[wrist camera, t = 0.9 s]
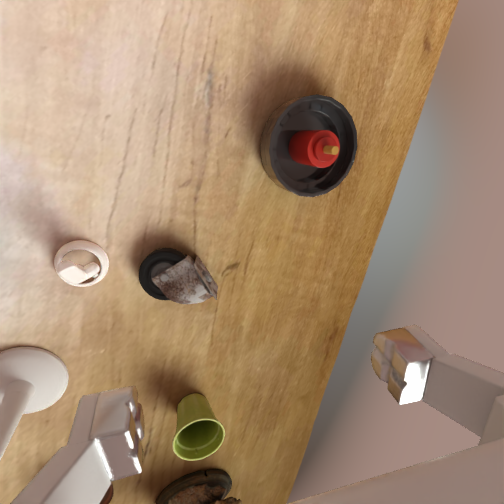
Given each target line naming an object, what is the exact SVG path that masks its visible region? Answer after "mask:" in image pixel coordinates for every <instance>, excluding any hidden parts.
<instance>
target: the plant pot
mask: <svg viewBox="0 0 504 504" xmlns="http://www.w3.org/2000/svg"><path fill="white" fill-rule="evenodd" d="M224 438H225V430H224V427H223V425H222V424H221V423H220V422H219V421H218V420H217V419H216V417H215V415H214V413H213V411H212V409H211V407H210V405H209V403H208V401H207V399H206V397H205V396H202V395H200V394H197V393H195V394H190V395H187V396H185V397H184V398H183V399H182V400H181V402H180V403H179V404H178V407H177V429H176V433H175V436H174V439H173V450H174V453H175V454H176V455H177V456H178V457H179V458H181V459H184V460H189V461H194V460H200V459H203V458H206V457H208V456H210V455H211V454H213V453H214V452H215V451H216V450H217V449H218V448H219V447H220V446H221V444H222V443H223V440H224Z"/></svg>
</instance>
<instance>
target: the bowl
mask: <svg viewBox="0 0 504 504" xmlns="http://www.w3.org/2000/svg"><path fill="white" fill-rule="evenodd" d="M301 130H329V131H331V132H333V133H334V134H335V135H336V136H337V138H338V140H339V144H340V150H339V154H338V157H337V159H336V160H335V161H334V163H332V164H331V165H330V166H328V167H325V168H319V167H314V166H309V165H304V164H300V163H297V162H295V161H294V160H293V159H292V158H291V156H290V154H289V142H290V140H291V138H292V136H293V135H294V134H295V133H297V132H298V131H301ZM356 150H357V131H356V128H355V125H354V122H353V119H352V116H351V115H350V114H349V112H348V111H347V110H346V108H345V107H344V106H343V105H342V104H341V103H339V102H338V101H336V100H335V99H333V98H332V97H328V96H323V95H318V94H316V95H311V96H306V97H300V98H295V99H291V100H289V101H288V102H286V103H284V104H283V105H281V106H279V107H278V108H277V109H276V111H275V112H274V113H273V114H272V115H271V116H270V118H269V119H268V121H267V123H266V126H265V128H264V130H263V132H262V138H261V145H260V151H261V158H262V164H263V166H264V168H265V170H266V172H267V174H268V176H269V178H270V179H271V180H272V181H273V182H274V183H275V184H276V185H277V186H278V187H280V188H283V189H285V190H287V191H289V192H291V193H294V194H296V195H299V196H306V197H315V196H319V195H323V194H326V193H328V192H329V191H331V190H332V189H334V188H336V187H337V186H338V185H339V184H340V183H341V182H342V181H343V179H344V178H345V177H346V176H347V175H348V173H349V171H350V169H351V167H352V165H353V163H354V160H355V155H356Z"/></svg>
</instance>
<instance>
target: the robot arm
mask: <svg viewBox="0 0 504 504" xmlns="http://www.w3.org/2000/svg"><path fill="white" fill-rule="evenodd" d="M373 343H374V344H375V345H376V348H375V349H374V350H373V351H372V354H371V361H372V366H373V369H374V371H375V373H376V375H377V376H378V377H379V379H381V380H383V381H384V382H387V383H388V390H389V392H390V393H391V394H392V396H393V397H394V398H395V399H396V401H397V402H398V403H399V405H401V404H406V403H410V402H414V401H419V400H423V401H424V402H425V403H427V404H429V405H430V406H431V407H433V408H435V409H436V410H438V411H440V412H441V413H443V414H444V415H446V416H448V417H449V418H451V419H452V420H454V421H456V422H457V423H459V424H460V425H462V426H464V427H465V428H467V429H468V430H470V431H472V432H473V433H475V434H476V435H478V436H480V437H481V439H480V441H479V444H478V446H476V447H472V448H469V449H466V450H463V451H459V452H456V453H452V454H449V455H446V456H442V457H439V458H436V459H433V460H429V461H426V462H423V463H419V464H416V465H413V466H410V467H406V468H403V469H400V470H396V471H393V472H390V473H387V474H383V475H380V476H377V477H374V478H370V479H367V480H364V481H360V482H357V483H354V484H350V485H347V486H344V487H341V488H337V489H334V490H331V491H327V492H324V493H321V494H317V495H314V496H311V497H308V498H304V499H301V500H298V501H294V502H291V503H288V504H504V373H503V372H500V371H497V370H495V369H492V368H490V367H487V366H484V365H482V364H479V363H477V362H474V361H472V360H469V359H467V358H464V357H461V356H459V355H456V354H449V353H448V352H447V351H446V350H444V349H443V348H442V347H441V346H440V345H439V344H438V343H437V342H435V340H433V339H432V338H431V337H430V336H429V335H428V334H426V333H425V331H423V330H422V329H421V328H420V327H418V326H417V325H412V326H407V327H403V328H398V329H394V330H389V331H385V332H380V333H376V335H375V336H374V339H373ZM143 437H144V415H143V409H142V406H141V404H140V403H138V392H137V389H136V386H129V387H124V388H119V389H113V390H108V391H103V392H100V393H94V394H89V395H84V396H82V398H81V399H80V400H79V404H78V408H77V411H76V415H75V418H74V422H73V425H72V429H71V432H70V436H69V440H68V443H67V446H64V447H61V448H60V449H59V450H58V451H57V452H56V454H55V455H54V456H53V457H52V458H51V459H50V460H49V461H48V462H47V464H46V465H45V466H44V467H43V468H42V469H41V470H40V471H39V472H38V473H37V475H36V476H35V477H34V478H33V479H32V480H31V481H30V482H29V483H28V485H27V486H26V487H25V488H24V489H23V490H22V491H21V492H20V493H19V495H18V496H17V497H16V498H15V499H14V500H13V501H12V502H11V503H10V504H99V503H100V502H101V500H102V498H103V497H104V495H105V493H106V492H107V490H108V488H109V486H110V485H111V481H115V480H118V479H122V478H125V477H128V476H132V475H135V474H139V473H142V462H143V448H142V445H141V440H142V439H143Z"/></svg>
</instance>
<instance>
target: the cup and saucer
mask: <svg viewBox="0 0 504 504" xmlns="http://www.w3.org/2000/svg"><path fill="white" fill-rule="evenodd" d="M112 497H113V485H112V483H111V485H110V486H109V488H108V490H107V492H106V493H105V495H104V497H103V498H102V500H101V502H100V503H99V504H109V503H110V501H111V499H112Z"/></svg>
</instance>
